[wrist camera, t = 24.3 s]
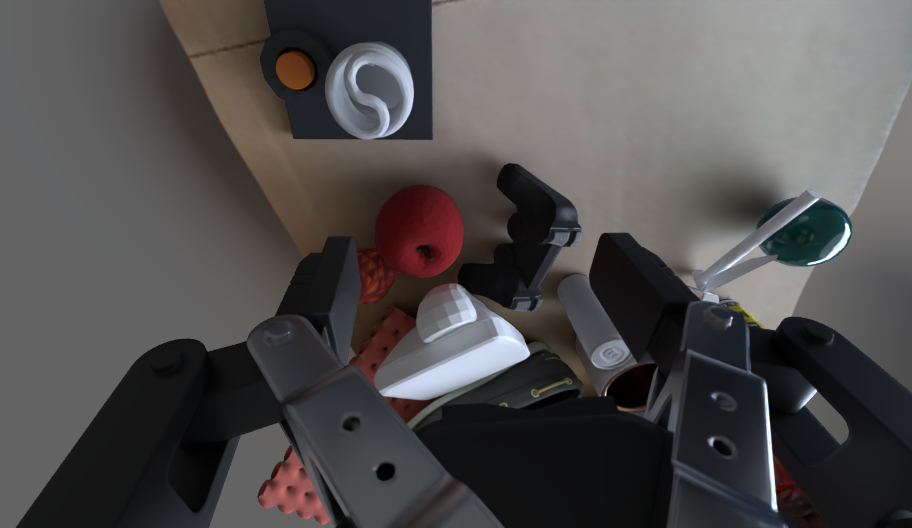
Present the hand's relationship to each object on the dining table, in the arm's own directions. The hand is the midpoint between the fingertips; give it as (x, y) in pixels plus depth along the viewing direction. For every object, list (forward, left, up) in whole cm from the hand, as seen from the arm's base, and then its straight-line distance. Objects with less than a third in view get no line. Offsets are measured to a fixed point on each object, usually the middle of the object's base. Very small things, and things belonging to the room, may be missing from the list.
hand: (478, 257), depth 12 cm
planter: (+32, +25, -28) cm, 49 cm away
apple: (+12, -2, -28) cm, 30 cm away
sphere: (+13, +41, -28) cm, 51 cm away
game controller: (+15, +8, -28) cm, 32 cm away
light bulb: (-2, -5, -26) cm, 27 cm away
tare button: (-2, -12, -25) cm, 28 cm away
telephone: (+27, +2, -17) cm, 32 cm away
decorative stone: (+18, -8, -28) cm, 34 cm away
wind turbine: (+7, +37, -21) cm, 43 cm away
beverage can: (+23, +18, -28) cm, 40 cm away
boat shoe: (+39, +4, -22) cm, 44 cm away
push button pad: (-2, -7, -28) cm, 29 cm away
